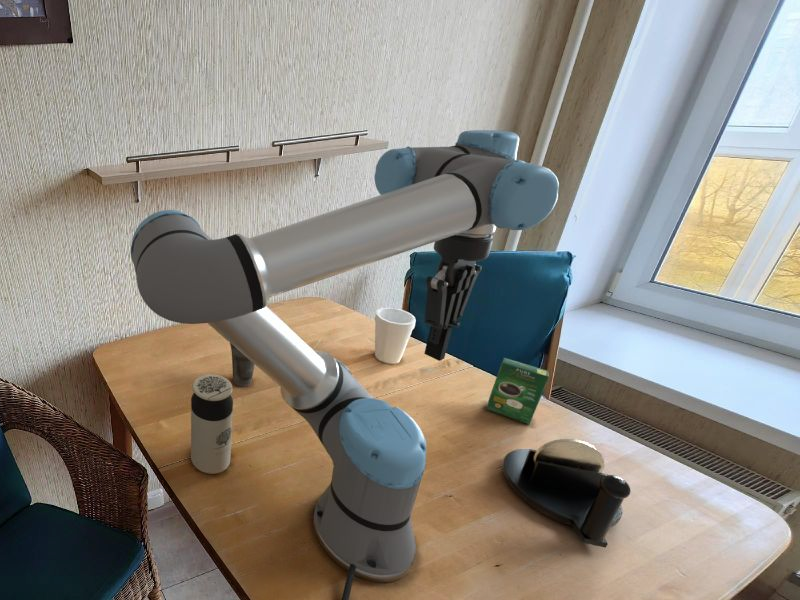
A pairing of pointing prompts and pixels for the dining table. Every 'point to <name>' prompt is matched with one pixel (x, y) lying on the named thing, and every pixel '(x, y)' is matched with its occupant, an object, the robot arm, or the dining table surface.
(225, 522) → the dining table surface
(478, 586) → the dining table surface
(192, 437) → the travel mug
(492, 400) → the coffee box
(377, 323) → the foam cup
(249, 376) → the beverage cup
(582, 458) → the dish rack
